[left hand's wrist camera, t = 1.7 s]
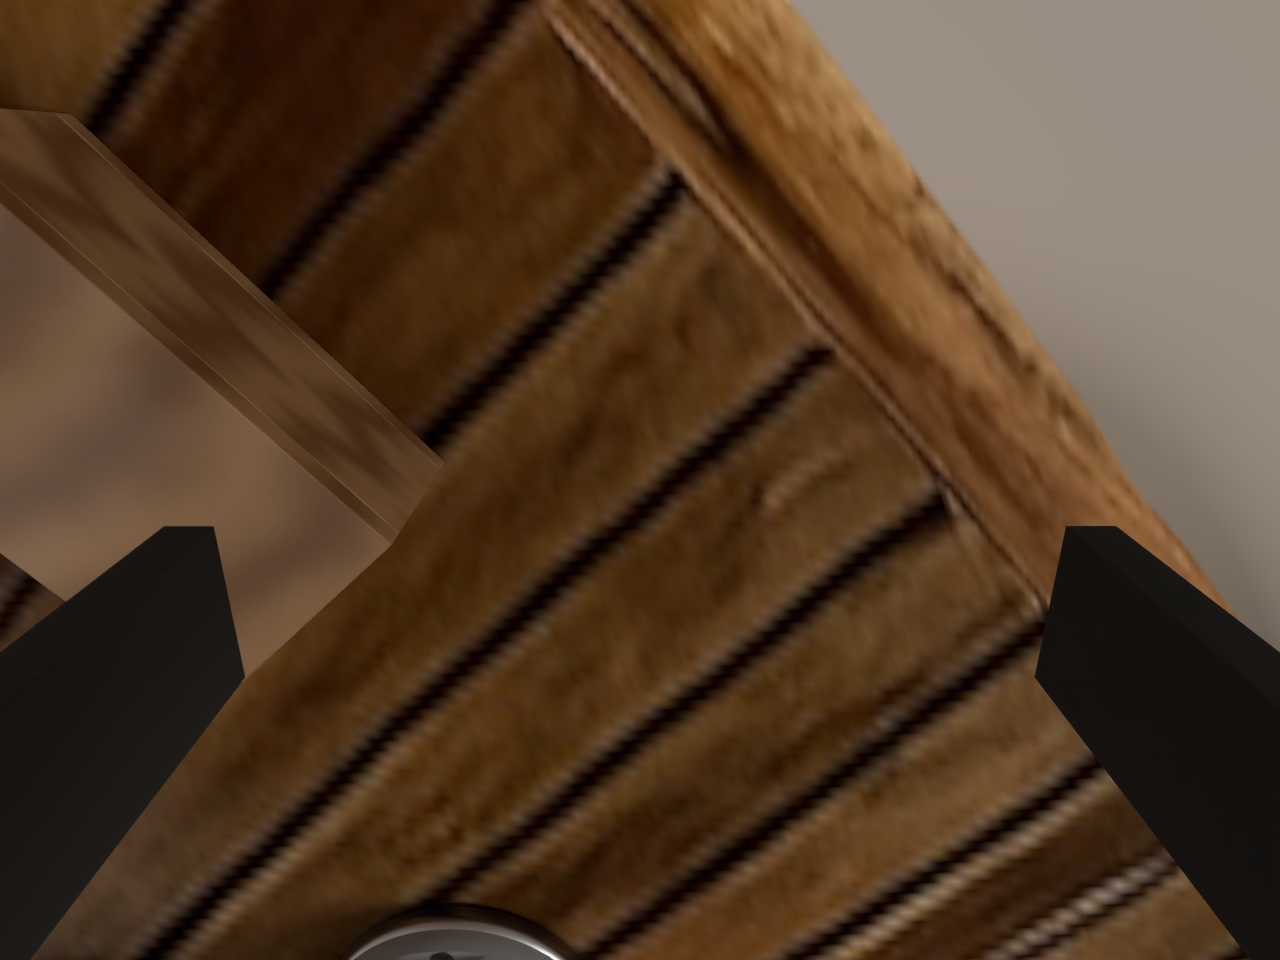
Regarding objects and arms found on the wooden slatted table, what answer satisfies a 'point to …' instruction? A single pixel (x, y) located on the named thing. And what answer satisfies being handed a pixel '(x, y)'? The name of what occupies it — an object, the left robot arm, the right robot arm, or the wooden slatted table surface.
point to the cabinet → (174, 399)
